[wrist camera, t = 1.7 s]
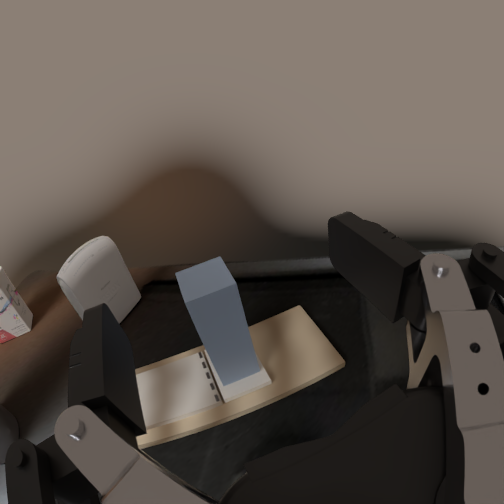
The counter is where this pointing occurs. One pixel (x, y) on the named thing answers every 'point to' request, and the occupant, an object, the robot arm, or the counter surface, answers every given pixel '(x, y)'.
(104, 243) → the photo printer
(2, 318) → the ink cartridge box
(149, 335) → the counter surface
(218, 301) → the panel
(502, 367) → the robot arm
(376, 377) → the counter surface
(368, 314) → the counter surface
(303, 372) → the perforated strip board
